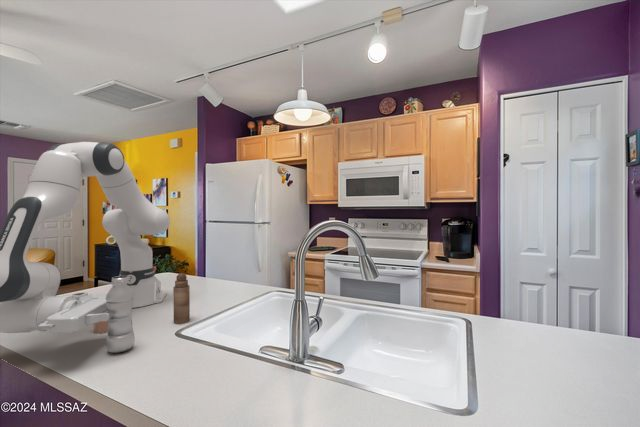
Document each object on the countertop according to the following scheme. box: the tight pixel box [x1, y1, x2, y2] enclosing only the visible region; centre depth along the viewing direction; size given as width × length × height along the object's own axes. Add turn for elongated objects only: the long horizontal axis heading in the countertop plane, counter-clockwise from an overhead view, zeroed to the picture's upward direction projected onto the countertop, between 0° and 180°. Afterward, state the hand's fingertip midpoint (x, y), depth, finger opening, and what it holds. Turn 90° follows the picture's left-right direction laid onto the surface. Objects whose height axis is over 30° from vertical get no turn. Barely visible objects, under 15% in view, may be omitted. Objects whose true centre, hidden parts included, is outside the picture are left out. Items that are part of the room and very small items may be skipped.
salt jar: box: [93, 320, 108, 334], centre depth 95 cm, size 6×6×9 cm
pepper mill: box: [172, 272, 191, 325], centre depth 103 cm, size 5×5×17 cm
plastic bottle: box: [105, 275, 136, 354], centre depth 81 cm, size 6×7×20 cm
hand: (119, 310), depth 81 cm, fingers open, 8 cm apart
